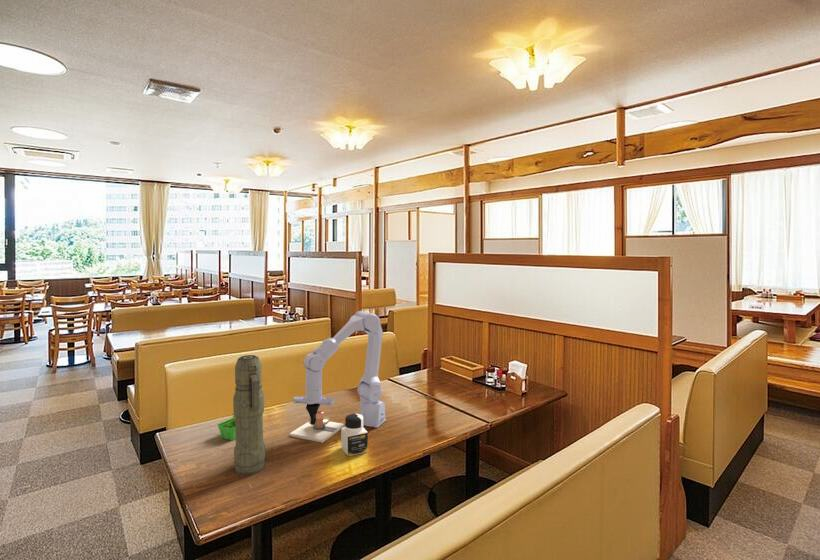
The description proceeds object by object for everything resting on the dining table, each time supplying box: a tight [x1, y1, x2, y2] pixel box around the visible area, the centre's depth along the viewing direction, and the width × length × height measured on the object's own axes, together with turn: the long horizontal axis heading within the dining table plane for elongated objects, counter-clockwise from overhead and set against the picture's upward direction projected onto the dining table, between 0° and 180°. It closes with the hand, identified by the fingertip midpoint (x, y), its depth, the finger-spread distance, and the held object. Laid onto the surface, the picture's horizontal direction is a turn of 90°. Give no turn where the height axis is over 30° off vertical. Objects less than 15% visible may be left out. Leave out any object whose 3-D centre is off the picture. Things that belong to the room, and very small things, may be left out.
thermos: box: [232, 354, 266, 476], centre depth 131 cm, size 9×12×35 cm
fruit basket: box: [217, 412, 236, 441], centre depth 156 cm, size 11×9×11 cm
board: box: [289, 421, 345, 443], centre depth 160 cm, size 14×15×3 cm
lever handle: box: [308, 409, 331, 427], centre depth 159 cm, size 8×11×4 cm
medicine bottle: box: [340, 413, 369, 457], centre depth 145 cm, size 7×7×12 cm
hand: (313, 423), depth 155 cm, fingers closed, pressing on lever handle
